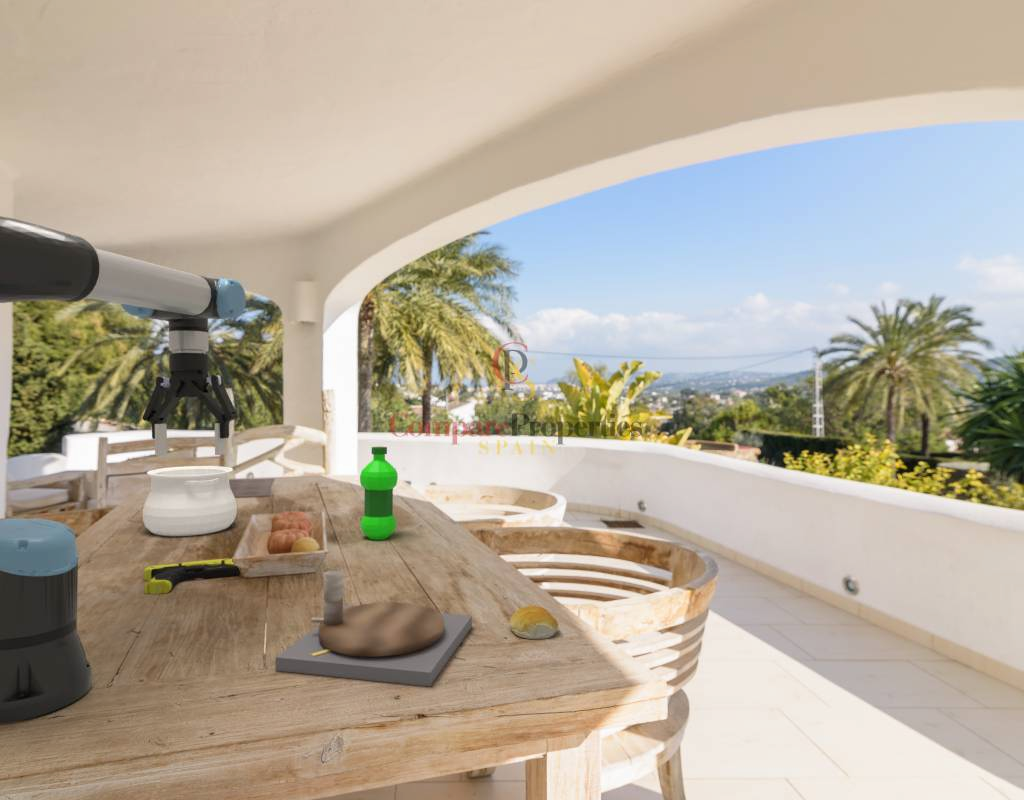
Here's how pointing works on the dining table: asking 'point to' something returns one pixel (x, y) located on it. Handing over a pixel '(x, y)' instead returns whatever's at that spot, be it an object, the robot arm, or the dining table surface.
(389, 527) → the plastic bottle
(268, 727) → the dining table surface
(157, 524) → the pot
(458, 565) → the dining table surface
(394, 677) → the base
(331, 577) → the dial
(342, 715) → the dining table surface
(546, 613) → the bread roll
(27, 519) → the robot arm
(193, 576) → the stun gun
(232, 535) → the dining table surface
